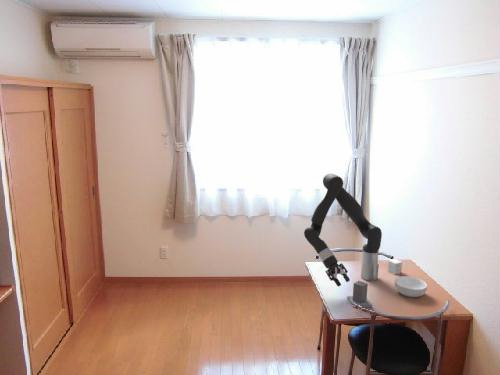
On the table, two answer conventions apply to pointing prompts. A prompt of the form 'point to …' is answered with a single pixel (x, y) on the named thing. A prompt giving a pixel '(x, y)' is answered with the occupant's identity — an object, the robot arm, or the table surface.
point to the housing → (360, 291)
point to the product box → (394, 266)
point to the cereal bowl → (410, 286)
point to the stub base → (364, 304)
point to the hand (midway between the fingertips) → (344, 283)
